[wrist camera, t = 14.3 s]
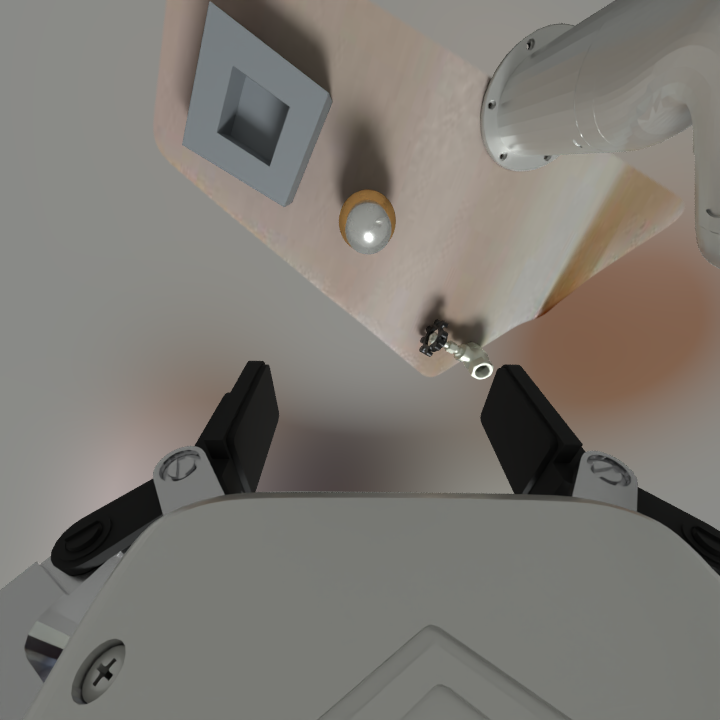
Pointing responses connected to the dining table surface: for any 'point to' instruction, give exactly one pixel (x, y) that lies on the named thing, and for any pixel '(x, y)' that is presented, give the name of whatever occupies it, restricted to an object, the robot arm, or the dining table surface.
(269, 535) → the robot arm
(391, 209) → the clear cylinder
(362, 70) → the dining table surface
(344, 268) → the dining table surface
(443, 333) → the valve
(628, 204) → the dining table surface
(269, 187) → the housing
